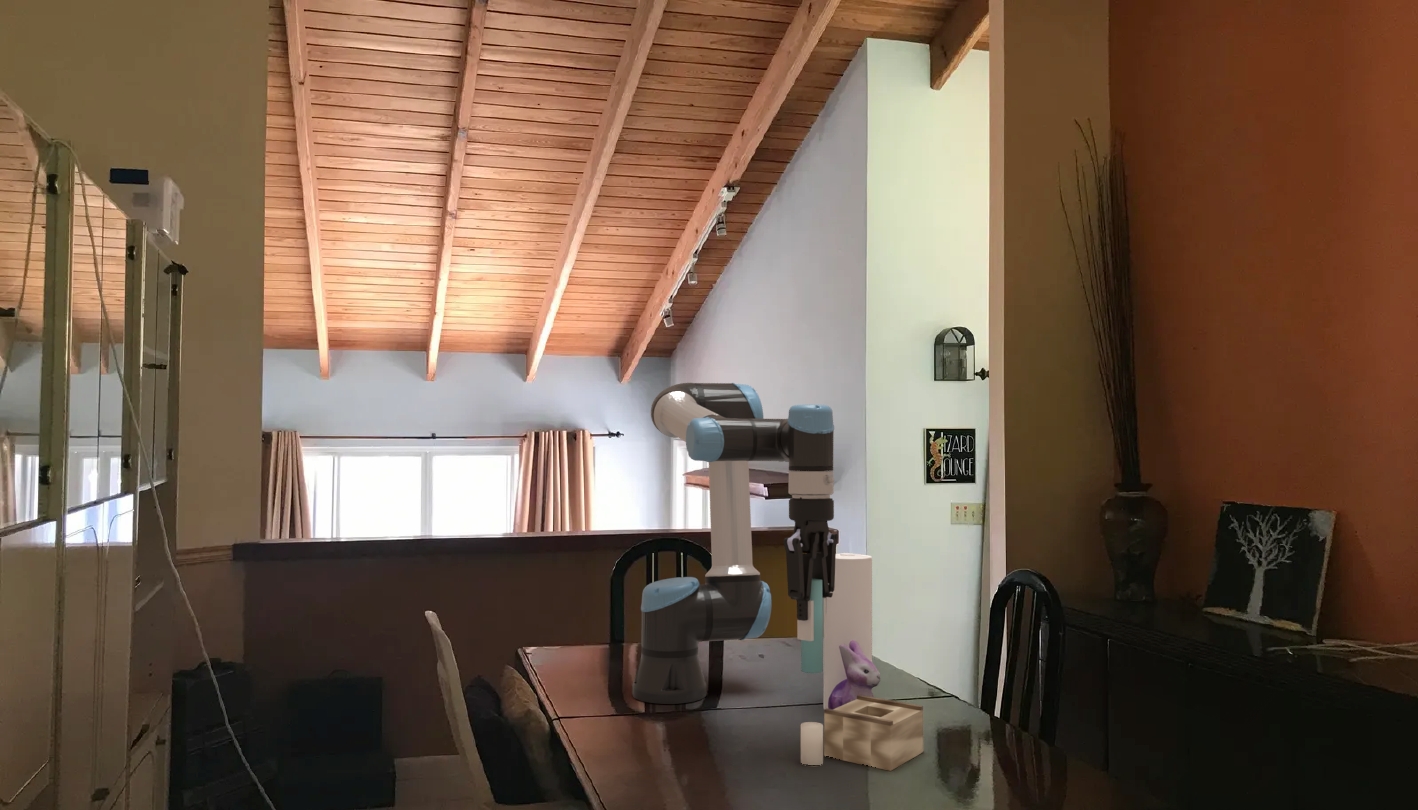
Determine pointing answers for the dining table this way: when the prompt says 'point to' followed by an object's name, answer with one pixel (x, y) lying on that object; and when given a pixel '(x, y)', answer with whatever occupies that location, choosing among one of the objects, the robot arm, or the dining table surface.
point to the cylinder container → (847, 616)
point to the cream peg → (812, 743)
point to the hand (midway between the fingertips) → (811, 637)
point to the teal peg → (814, 649)
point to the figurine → (854, 676)
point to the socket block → (874, 732)
